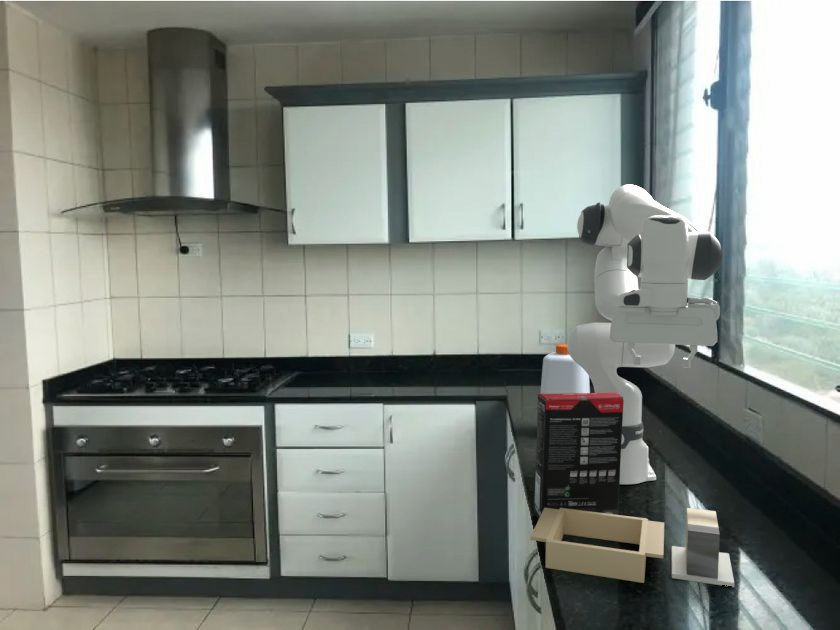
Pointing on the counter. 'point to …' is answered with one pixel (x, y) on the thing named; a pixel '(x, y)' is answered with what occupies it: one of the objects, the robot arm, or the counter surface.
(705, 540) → the block
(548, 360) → the plastic bottle
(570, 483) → the graphics card box
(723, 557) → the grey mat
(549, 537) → the carton
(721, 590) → the counter surface
